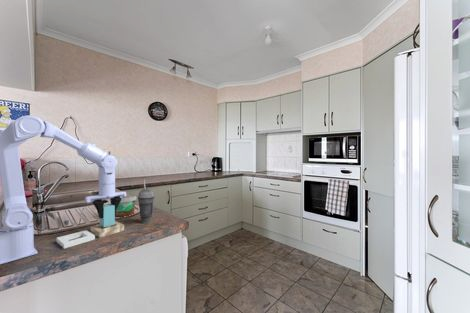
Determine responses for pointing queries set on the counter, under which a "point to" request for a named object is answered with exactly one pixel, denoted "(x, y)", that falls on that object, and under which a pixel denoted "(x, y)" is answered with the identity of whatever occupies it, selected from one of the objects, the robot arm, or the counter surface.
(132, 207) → the food container
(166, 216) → the counter surface
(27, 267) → the counter surface
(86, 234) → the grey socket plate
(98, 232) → the ash socket block
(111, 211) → the teal plug
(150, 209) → the beverage cup
